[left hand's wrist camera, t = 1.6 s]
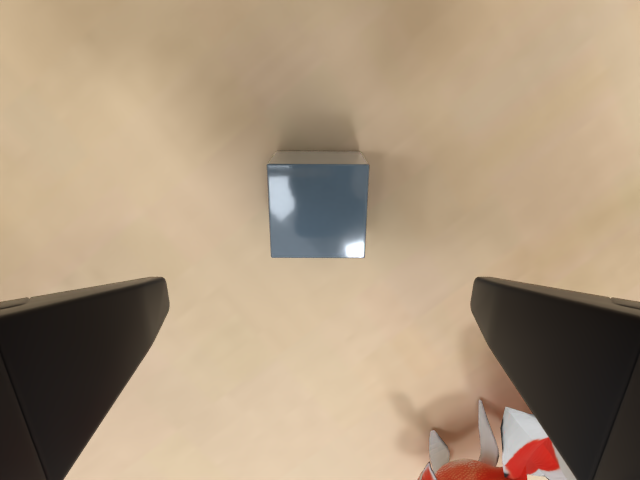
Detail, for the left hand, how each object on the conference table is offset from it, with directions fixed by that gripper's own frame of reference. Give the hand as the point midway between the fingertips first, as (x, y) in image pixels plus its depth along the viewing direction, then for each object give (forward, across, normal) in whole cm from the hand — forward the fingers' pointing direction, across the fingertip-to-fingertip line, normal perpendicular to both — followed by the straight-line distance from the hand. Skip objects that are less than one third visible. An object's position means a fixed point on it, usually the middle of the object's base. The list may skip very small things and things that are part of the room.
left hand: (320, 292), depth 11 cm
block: (+12, 0, 0) cm, 12 cm away
